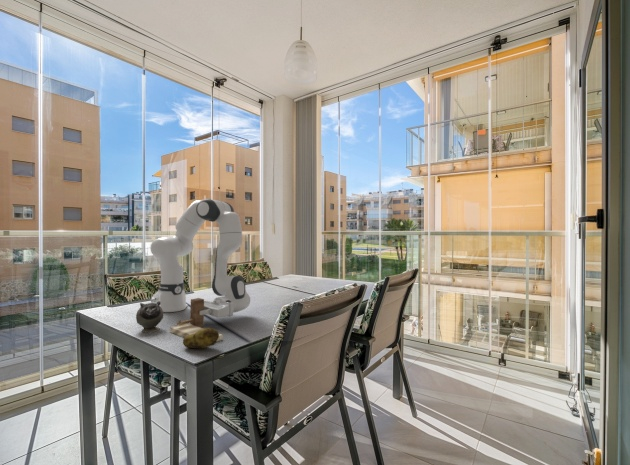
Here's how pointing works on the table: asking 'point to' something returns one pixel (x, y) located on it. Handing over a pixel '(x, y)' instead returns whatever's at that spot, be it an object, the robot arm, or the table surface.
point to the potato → (201, 338)
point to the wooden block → (195, 313)
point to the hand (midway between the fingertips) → (195, 312)
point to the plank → (188, 330)
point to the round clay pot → (149, 316)
